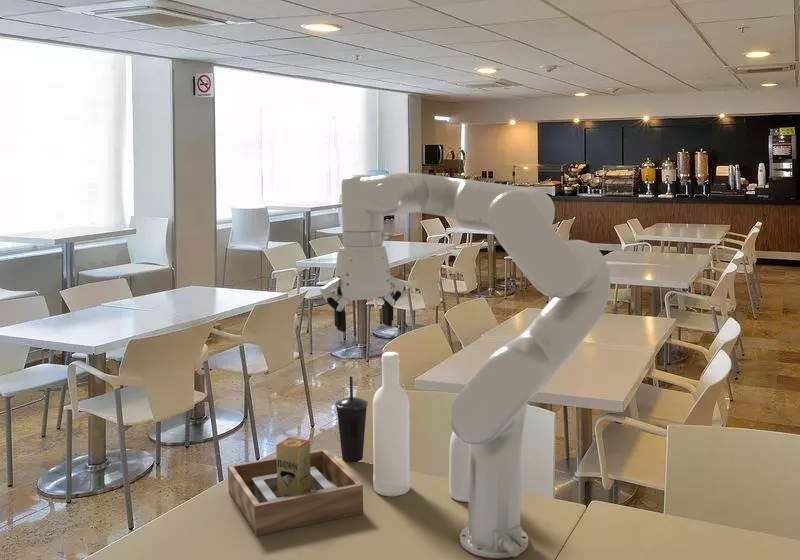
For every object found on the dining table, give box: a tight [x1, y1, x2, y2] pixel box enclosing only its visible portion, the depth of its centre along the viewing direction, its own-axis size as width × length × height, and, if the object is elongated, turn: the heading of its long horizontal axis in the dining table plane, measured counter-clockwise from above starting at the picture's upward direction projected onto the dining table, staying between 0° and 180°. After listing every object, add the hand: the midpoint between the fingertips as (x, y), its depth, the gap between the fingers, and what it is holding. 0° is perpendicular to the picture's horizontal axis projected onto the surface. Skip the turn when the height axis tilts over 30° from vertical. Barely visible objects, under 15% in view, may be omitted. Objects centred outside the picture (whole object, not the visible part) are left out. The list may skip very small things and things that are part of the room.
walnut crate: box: [227, 448, 364, 537], centre depth 164 cm, size 22×22×6 cm
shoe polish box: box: [275, 436, 311, 498], centre depth 163 cm, size 5×5×12 cm
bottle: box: [372, 351, 411, 497], centre depth 168 cm, size 8×8×30 cm
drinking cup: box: [335, 376, 369, 463], centre depth 187 cm, size 8×8×20 cm
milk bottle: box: [448, 430, 469, 503], centre depth 166 cm, size 8×8×20 cm
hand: (364, 327), depth 154 cm, fingers open, 9 cm apart
